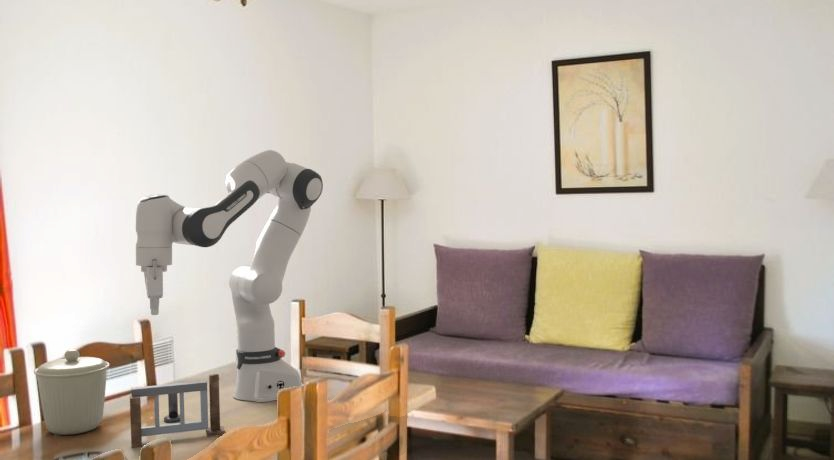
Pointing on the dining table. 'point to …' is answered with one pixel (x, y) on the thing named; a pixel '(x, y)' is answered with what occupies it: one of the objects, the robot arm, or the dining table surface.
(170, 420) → the stop post
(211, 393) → the gate frame
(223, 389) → the dining table surface
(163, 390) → the gate
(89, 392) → the canister
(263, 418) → the dining table surface
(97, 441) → the dining table surface
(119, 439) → the dining table surface
